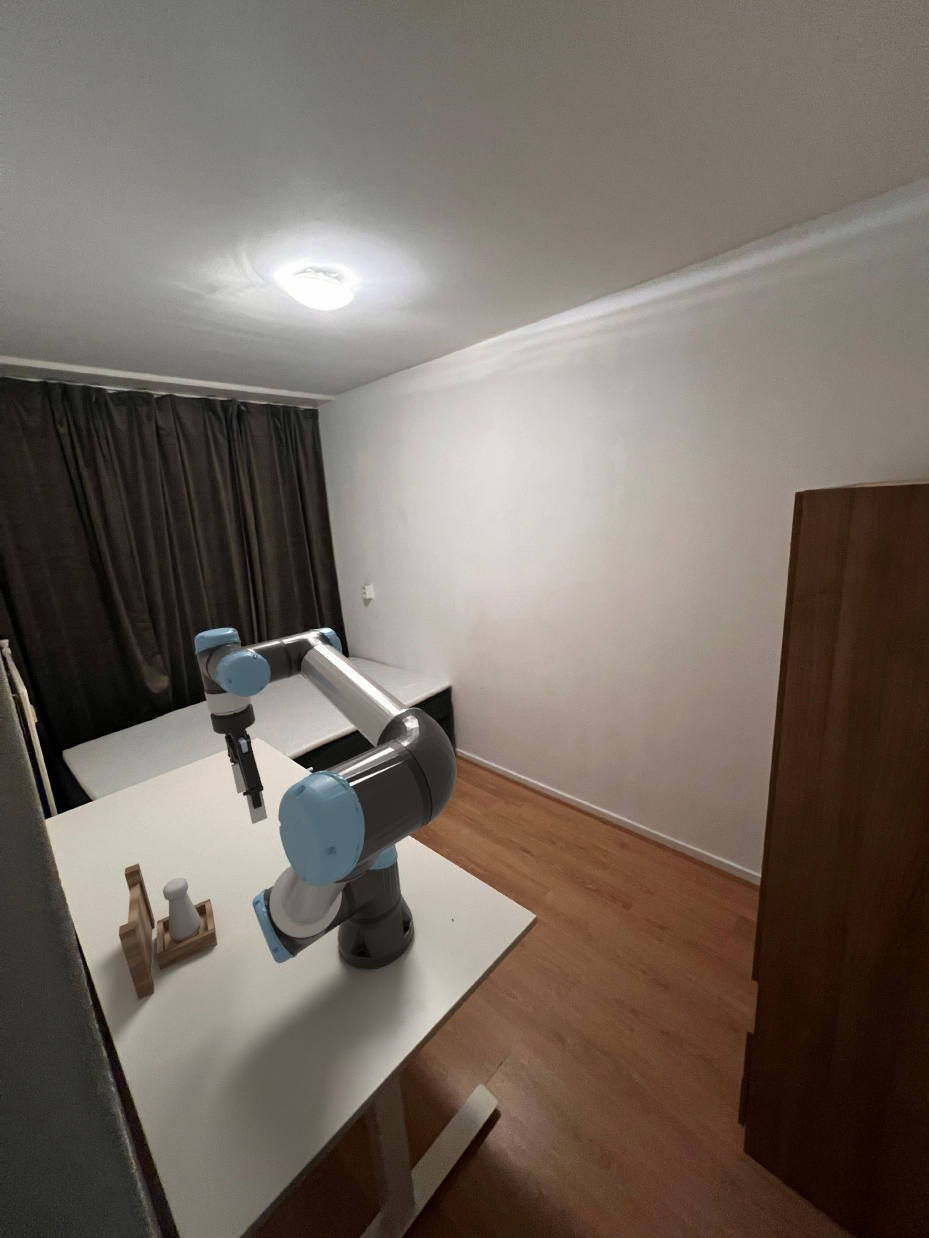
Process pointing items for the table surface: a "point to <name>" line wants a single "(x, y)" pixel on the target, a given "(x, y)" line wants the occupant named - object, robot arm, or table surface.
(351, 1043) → the table surface
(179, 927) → the salt shaker
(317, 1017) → the table surface
